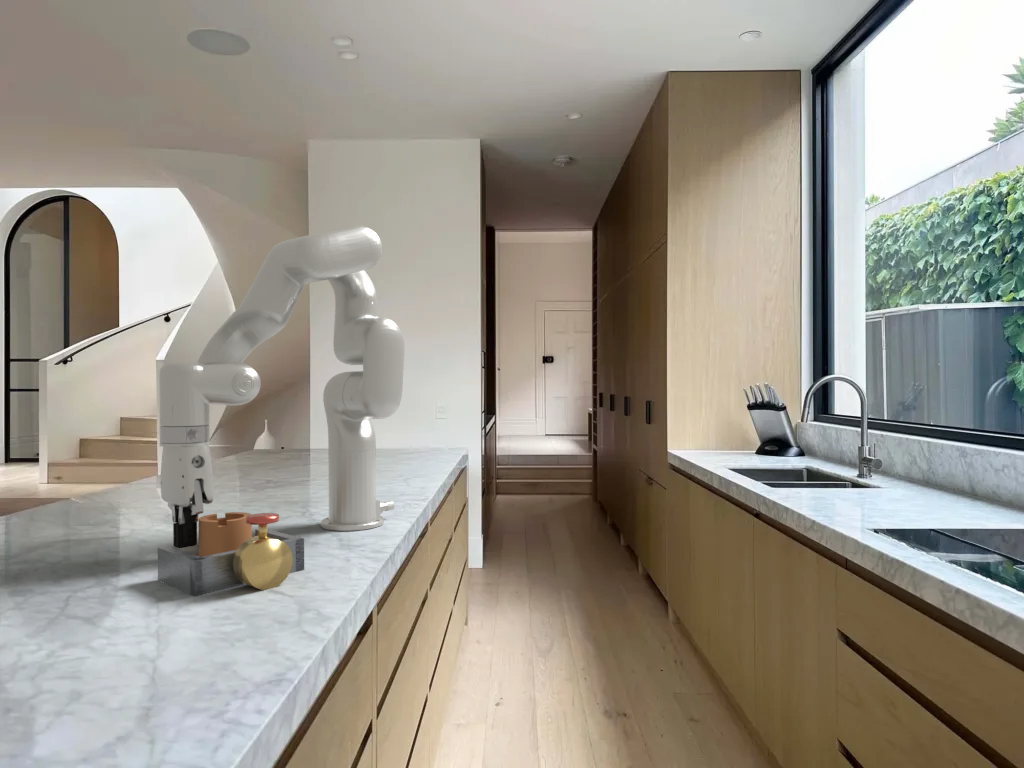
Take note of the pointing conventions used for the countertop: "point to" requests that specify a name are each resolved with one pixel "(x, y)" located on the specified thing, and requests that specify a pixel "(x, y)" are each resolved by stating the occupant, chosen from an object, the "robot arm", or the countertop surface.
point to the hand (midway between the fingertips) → (185, 546)
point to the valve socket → (235, 562)
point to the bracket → (223, 533)
